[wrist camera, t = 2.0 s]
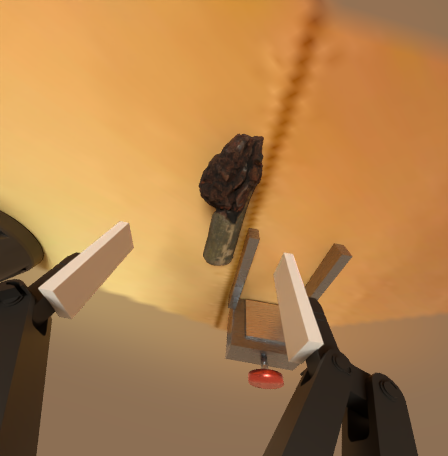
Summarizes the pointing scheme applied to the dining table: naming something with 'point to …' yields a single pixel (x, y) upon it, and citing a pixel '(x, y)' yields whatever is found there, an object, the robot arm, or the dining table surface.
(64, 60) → the dining table surface
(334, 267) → the cradle
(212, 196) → the morel mushroom
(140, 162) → the dining table surface
